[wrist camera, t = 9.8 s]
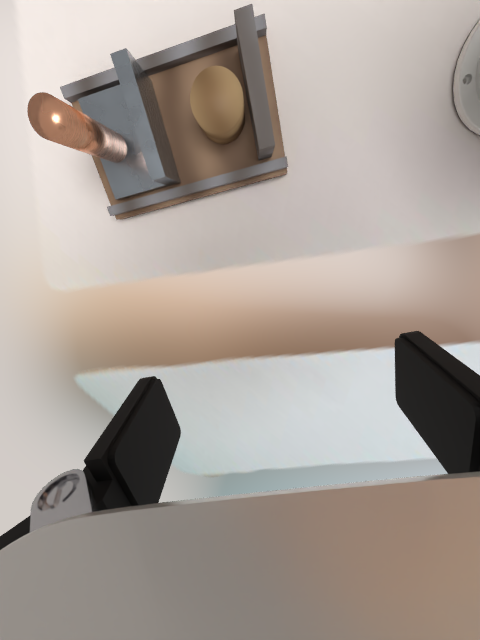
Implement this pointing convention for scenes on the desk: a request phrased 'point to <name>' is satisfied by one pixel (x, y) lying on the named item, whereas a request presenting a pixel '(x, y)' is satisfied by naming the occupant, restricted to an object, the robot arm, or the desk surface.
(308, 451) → the desk surface
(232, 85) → the tan round peg
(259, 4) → the desk surface
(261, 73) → the press base
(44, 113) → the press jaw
